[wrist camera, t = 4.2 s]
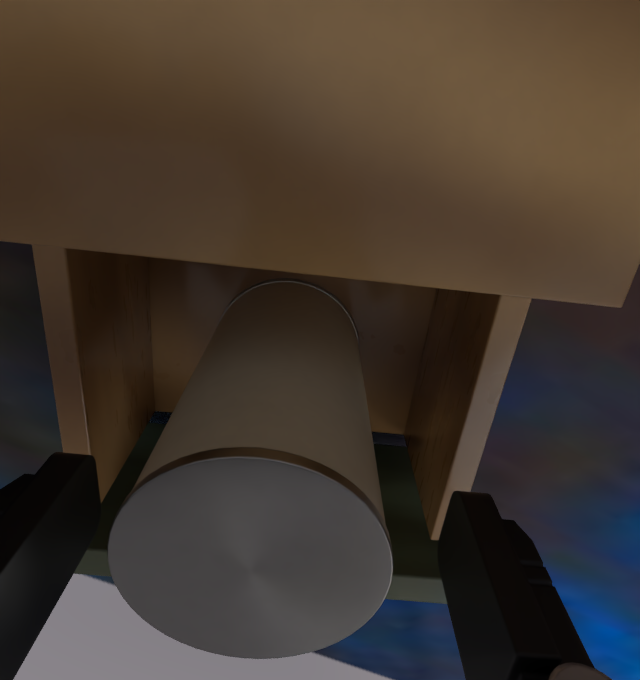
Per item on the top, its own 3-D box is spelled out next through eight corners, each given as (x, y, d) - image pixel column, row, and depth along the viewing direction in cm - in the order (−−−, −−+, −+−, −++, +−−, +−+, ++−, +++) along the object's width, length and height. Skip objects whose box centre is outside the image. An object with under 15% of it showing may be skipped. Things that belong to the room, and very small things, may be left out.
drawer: (405, 535, 24) (434, 683, 18) (135, 512, 23) (67, 655, 17) (494, 191, 17) (595, 232, 10) (108, 146, 16) (-28, 161, 10)
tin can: (215, 399, 19) (116, 649, 10) (217, 270, 17) (93, 442, 8) (348, 412, 19) (370, 668, 10) (368, 286, 17) (419, 472, 8)
